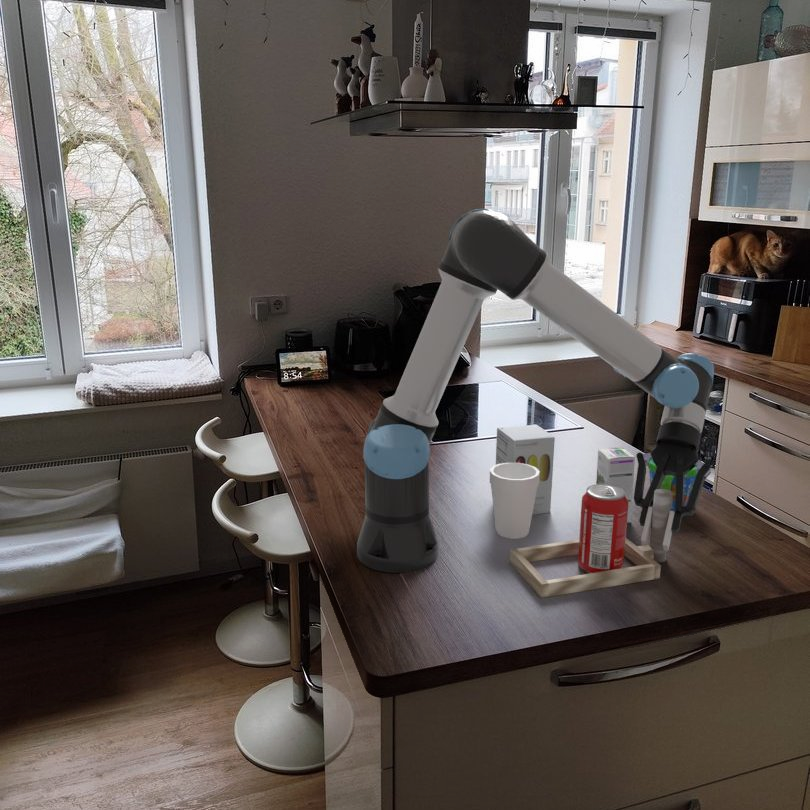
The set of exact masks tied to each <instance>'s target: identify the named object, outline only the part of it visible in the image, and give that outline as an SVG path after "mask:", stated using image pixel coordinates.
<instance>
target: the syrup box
mask: <svg viewBox="0 0 810 810" xmlns="http://www.w3.org/2000/svg"><path fill="white" fill-rule="evenodd" d="M635 460H636V456H634V455H633V454H632V453H631V452H629V451H628V450H627V449H626V448H624V447H609V448H608V447H606V448H601V449H599V448H598V451H597V464H596V465H597V466H596V482H595V483H596V484H595V485H597V484H606V485H612V486H616V487H619V488H621V489H622V490H624V492H625V497H626V498H627V500H628V516H627V524H628V523H629V524H630V523H631V522H632V520H631V519H632V509H633V497H634V493H633V492H634V478H635V477H634V476H635V462H636V461H635Z"/></svg>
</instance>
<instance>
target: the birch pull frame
mask: <svg viewBox="0 0 810 810" xmlns="http://www.w3.org/2000/svg"><path fill="white" fill-rule="evenodd" d="M671 501H672V492H671V491H669V490H666V489H656V490H655V491H654V502H653V506H652V507H653V513H652V524H651V530H650V534H649V538H650V539H649V544H647V546H642V545H637V544H635V543H633V542H632V541H631V540H630V539H629V538H627V537H626V540H625V553H624V557H626V558H627V559H628V560H630V561H631V562H632V563H633V564H634V565H635V566H629V567H623V568H621V569H615V570H609V571H602V572H596V573H585V574H584V573H583V574H579V575H572V576H565V577H559V578H554V579H547V580H546V578H544V577H543V576H542V575H541V574H540V573H539V571H538V570H537V569H536V568H535V567H534V566H533V565H532V564H531V563H532V562H537V561H545V560H551V559H552V560H553V559H557V558H563V557H570V556H578V553H579V539H573V540H566V541H560V542H552V543H546V544H538V545H531V546H526V547H518V548H511V549H509V563H510V565H511V566H513V567H514V569H515V570H516V571H517V573H519V575H520V576H521V577H522V578H523V580H525V582H527V583H528V585H529V586H530V587H531V588H532V589H533V590H534V592H536V594H537V595H538V597H540V598H541V599H544V598H549V597H555V596H563V595H566V594H567V595H568V594H573V593H580V592H586V591H591V590H598V589H604V588H610V587H616V586H617V587H618V586H622V585H628V584H635V583H639V582H646V581H652V580H659V579H660V578H661V568H662V565H661V564H659V563H664V562H666V561H667V552H668V551H666V550H664V548H663V541H664V536H665V532H666V527H667V523H668V518H669V513H670V511H671Z"/></svg>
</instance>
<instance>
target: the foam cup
mask: <svg viewBox="0 0 810 810" xmlns="http://www.w3.org/2000/svg"><path fill="white" fill-rule="evenodd" d="M539 472H540V471H539V470H538V469H537V468H536V467H534V466H531V465H528V464H523V463H501V464H497V465H496V464H495V465H493V466H491V468H490V469H489V483H490V489H491V498H492V504H493V505H492V507H493V515H494V517H493V518H494V524H495V530H496V531H495V532H496V533H497V534H498V536H501V537H503V538H504V539H505V538H506V539H512V540H513V539H514V540H515V539H516V540H517V539H523V538H525V537H526V536H528V535H529V533H530V529H531V528H530V527H531V522H532V517H533V515H532V513H533V507H534V502H535V496H536V491H537V487H538V485H539Z"/></svg>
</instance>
